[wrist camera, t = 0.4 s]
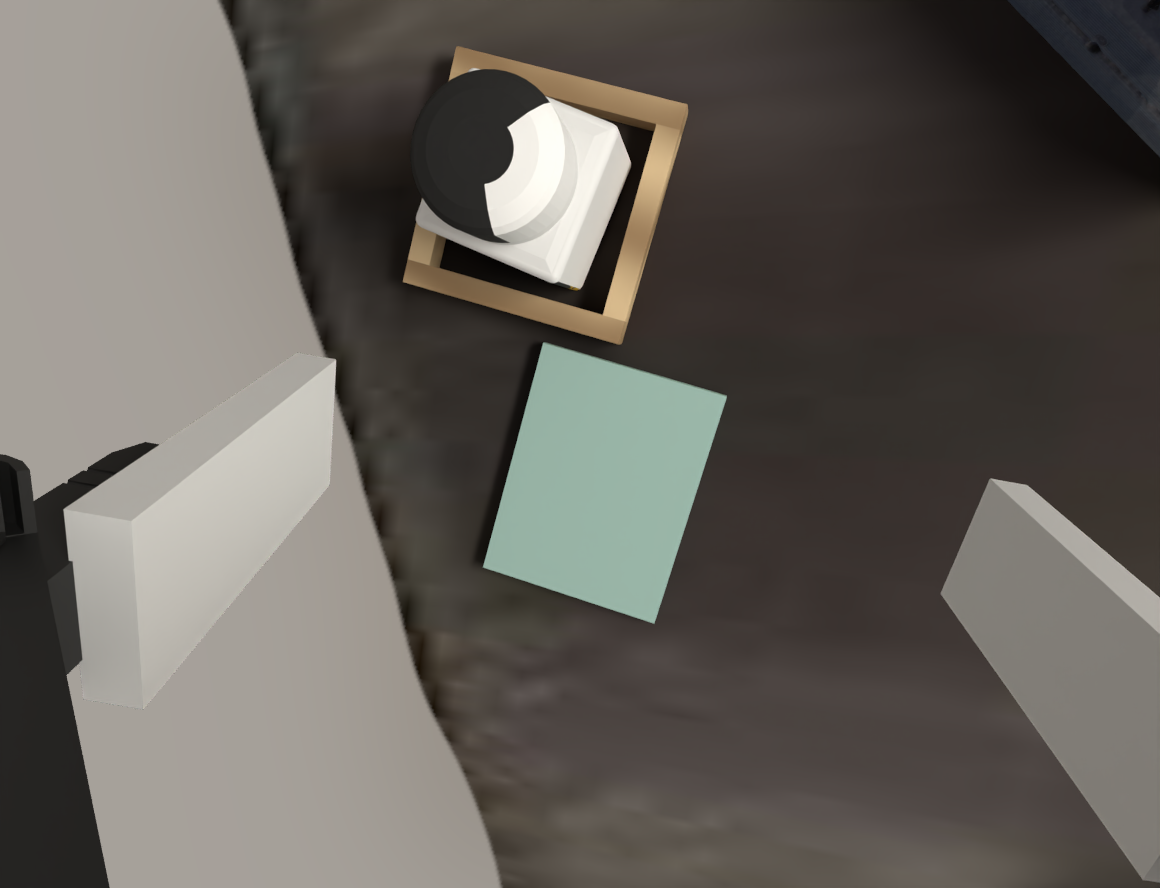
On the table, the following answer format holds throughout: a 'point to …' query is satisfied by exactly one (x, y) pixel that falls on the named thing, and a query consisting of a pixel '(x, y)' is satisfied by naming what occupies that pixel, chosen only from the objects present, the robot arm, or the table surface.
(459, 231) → the medicine bottle
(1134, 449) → the table surface
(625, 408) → the rubber mat
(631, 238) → the oak cradle
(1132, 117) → the vhs cassette tape
